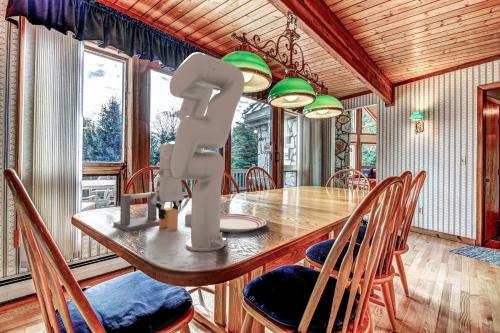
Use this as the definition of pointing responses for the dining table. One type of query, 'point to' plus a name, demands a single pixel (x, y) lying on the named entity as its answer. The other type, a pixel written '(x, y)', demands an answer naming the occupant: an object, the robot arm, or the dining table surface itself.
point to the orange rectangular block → (169, 219)
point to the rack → (136, 223)
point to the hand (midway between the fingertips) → (168, 217)
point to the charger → (188, 218)
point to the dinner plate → (240, 222)
